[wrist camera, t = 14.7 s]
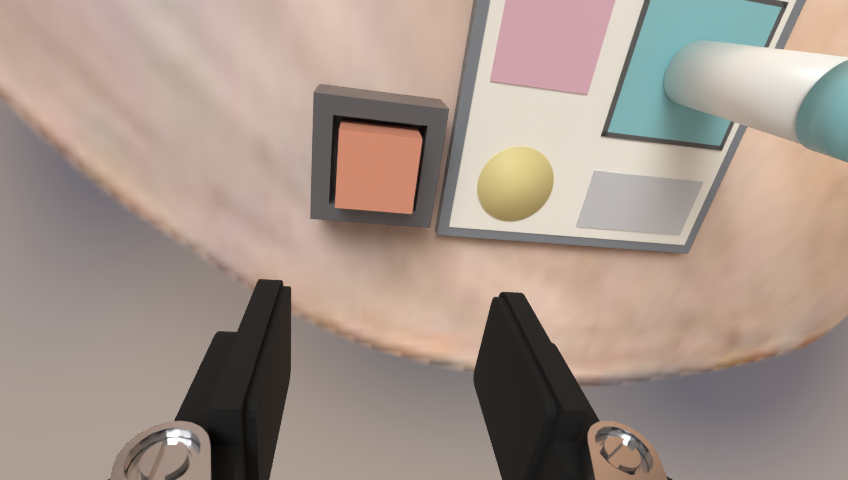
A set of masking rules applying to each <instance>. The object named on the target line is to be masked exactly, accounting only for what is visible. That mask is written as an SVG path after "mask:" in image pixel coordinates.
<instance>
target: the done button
mask: <svg viewBox="0 0 848 480" xmlns="http://www.w3.org/2000/svg"><path fill="white" fill-rule="evenodd" d="M421 146H422V137H421V135H420V133H419V130H418V128H411V127H402V126H393V125H385V124H376V123H367V122H359V121H350V120H341V123H340V128H339V139H338V158H337V177H336V196H335V208H343V209H356V210H368V211H380V212H393V213H405V214H412V211H413V204H414V196H415V189H416V182H417V175H418V168H419V161H420V153H421Z"/></svg>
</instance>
